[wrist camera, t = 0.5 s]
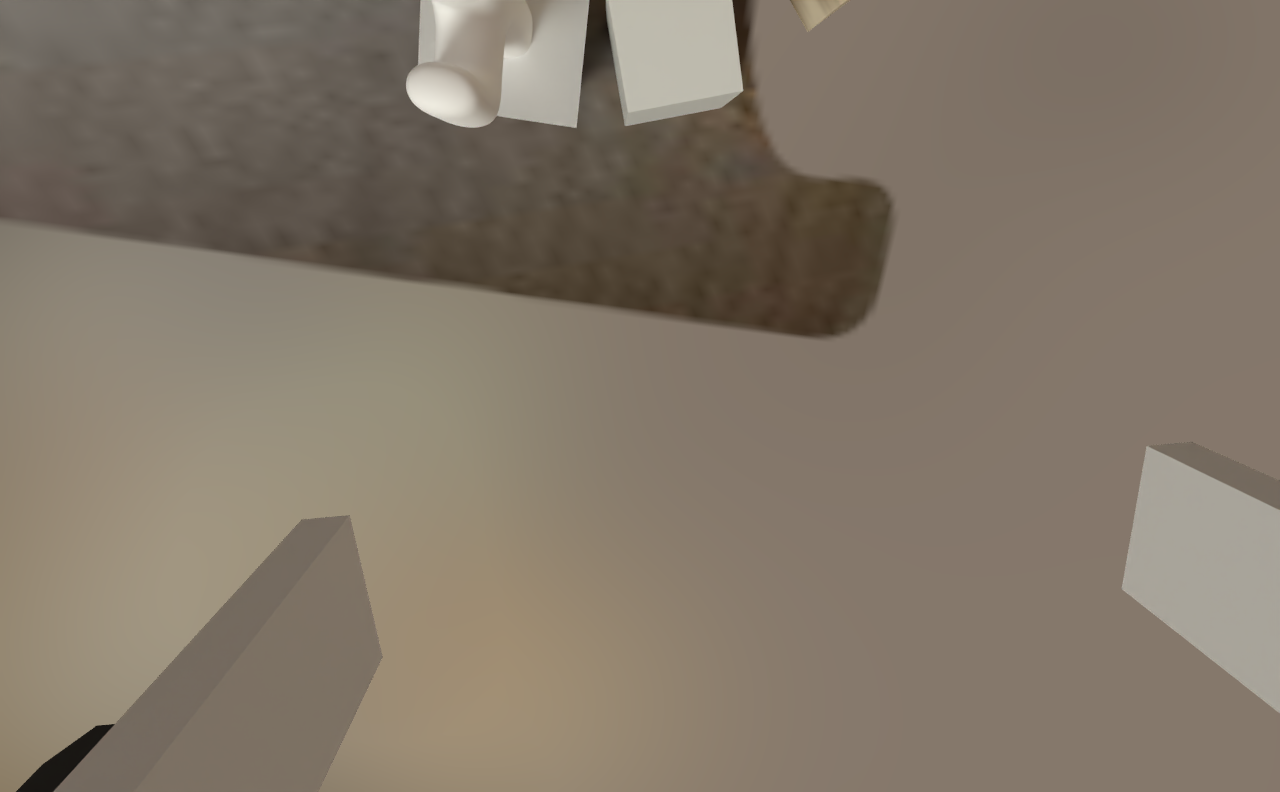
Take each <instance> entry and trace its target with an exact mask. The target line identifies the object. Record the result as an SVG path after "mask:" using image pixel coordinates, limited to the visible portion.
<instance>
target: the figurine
mask: <svg viewBox="0 0 1280 792" xmlns="http://www.w3.org/2000/svg"><path fill="white" fill-rule="evenodd" d="M588 9H589V0H421V2H420V29H419V57H418V65H417V66H416V67H414V68H413V69H412V70H411V71H410V73H409V75H408V77H407V81H406V89H407V93H408V95H409V97H410V99H411V101H412V102H413V103H414V104H415V105H416V106H417V107H418V108H419V109H421V110H422V111H424V112H426V113H428V114H430V115H432V116H434V117H436V118H439V119H441V120H443V121H446V122H448V123H451V124H454V125H457V126H462V127H471V128H473V127H481V126H485V125H487V124H489V123H491V122H492V121H493V120H494V119H495V117H496V116H501V117H508V118H514V119H521V120H528V121H534V122H541V123H548V124H554V125H561V126H568V127H574V128H576V127H577V118H578V108H579V98H580V88H581V78H582V68H583V58H584V49H585V39H586V29H587V19H588Z"/></svg>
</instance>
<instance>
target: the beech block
mask: <svg viewBox="0 0 1280 792" xmlns="http://www.w3.org/2000/svg"><path fill="white" fill-rule="evenodd" d="M790 1H791V3H792V5H793V7H794V9H795V10H796V12H797V14H798V16H799V18H800V19H801V21H802V23H803V25H804V27H805V28H806V30H807V32H809V31H810V30H811V29H813V28H814V27H815V26H816V25H818V24H819V23H821V22H822V21H823V20H825V19H826V18H827V17H829V16H830V15H831V14H833V13H834V12H835V11H837V10H838V9H839V8H841V7H842V6H843V5H845V4H846V3H847V2H849V1H850V0H790Z"/></svg>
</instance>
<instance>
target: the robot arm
mask: <svg viewBox="0 0 1280 792" xmlns="http://www.w3.org/2000/svg"><path fill="white" fill-rule="evenodd" d="M1122 590H1124V591H1125V592H1126V593H1128V594H1129V595H1130V596H1131V597H1133V598H1134V599H1135V600H1136V601H1138V602H1139V603H1140V604H1142V605H1143V606H1144V607H1145V608H1147V609H1148V610H1149V611H1151V612H1152V613H1153V614H1154V615H1156V616H1157V617H1158V618H1159V619H1161V620H1162V621H1163V622H1165V623H1166V624H1167V625H1168V626H1170V627H1171V628H1172V629H1173V630H1175V631H1176V632H1177V633H1178V634H1180V635H1181V636H1182V637H1184V638H1185V639H1186V640H1187V641H1189V642H1190V643H1191V644H1192V645H1194V646H1195V647H1196V648H1197V649H1199V650H1200V651H1201V652H1203V653H1204V654H1205V655H1206V656H1208V657H1209V658H1210V659H1211V660H1213V661H1214V662H1215V663H1217V664H1218V665H1219V666H1220V667H1222V668H1223V669H1224V670H1226V671H1227V672H1228V673H1229V674H1231V675H1232V676H1233V677H1234V678H1236V679H1237V680H1238V681H1240V682H1241V683H1242V684H1243V685H1245V686H1246V687H1247V688H1248V689H1250V690H1251V691H1252V692H1253V693H1255V694H1256V695H1257V696H1259V697H1260V698H1261V699H1262V700H1264V701H1265V702H1266V703H1267V704H1269V705H1270V706H1271V707H1272V708H1274V709H1275V710H1276V711H1278V712H1279V713H1280V480H1277V479H1275V478H1273V477H1270V476H1268V475H1266V474H1264V473H1261V472H1259V471H1257V470H1255V469H1252V468H1250V467H1248V466H1246V465H1243V464H1241V463H1239V462H1236V461H1234V460H1232V459H1230V458H1227V457H1225V456H1223V455H1221V454H1218V453H1216V452H1213V451H1211V450H1209V449H1207V448H1205V447H1202V446H1200V445H1198V444H1196V443H1193V442H1187V443H1175V444H1163V445H1151V446H1147V448H1146V454H1145V459H1144V465H1143V471H1142V476H1141V483H1140V488H1139V494H1138V500H1137V505H1136V511H1135V517H1134V522H1133V528H1132V534H1131V540H1130V545H1129V551H1128V556H1127V562H1126V568H1125V573H1124V579H1123V585H1122ZM381 659H382V653H381V648H380V644H379V640H378V635H377V631H376V627H375V623H374V618H373V614H372V610H371V605H370V601H369V597H368V592H367V588H366V584H365V579H364V575H363V571H362V567H361V562H360V558H359V554H358V549H357V545H356V541H355V536H354V532H353V528H352V524H351V519H350V516H337V517H326V518H315V519H304V520H301V521H300V522H299V523H298V524H297V525H296V526H295V528H294V529H293V530H292V531H291V532H290V533H289V534H288V535H287V536H286V538H284V540H283V541H282V542H281V543H280V544H279V545H278V546H277V547H276V549H274V551H273V552H272V553H271V554H270V555H269V556H268V557H267V558H266V559H265V560H264V561H263V563H262V564H261V565H260V566H259V567H258V568H257V569H256V571H255V572H254V573H253V574H252V575H251V576H250V577H249V578H248V579H247V580H246V581H245V582H244V583H243V585H242V586H241V587H240V588H239V589H238V590H237V591H236V592H235V593H234V594H233V596H232V597H231V598H230V599H229V600H228V601H227V602H226V603H225V604H224V605H223V607H222V608H221V609H220V610H219V611H218V612H217V613H216V614H215V615H214V616H213V617H212V618H211V620H210V621H209V622H208V623H207V624H206V625H205V626H204V627H203V628H202V629H201V631H200V632H199V633H198V634H197V635H196V636H195V637H194V638H193V639H192V640H191V641H190V643H189V644H188V645H187V646H186V647H185V648H184V649H183V650H182V651H181V652H180V654H179V655H178V656H177V657H176V658H175V659H174V660H173V661H172V663H170V664H169V666H168V667H167V668H166V669H165V670H164V671H163V672H162V673H161V674H160V675H159V677H158V678H157V679H156V680H155V681H154V682H153V683H152V684H151V685H150V686H149V687H148V689H147V690H146V691H145V692H144V693H143V694H142V695H141V696H140V697H139V699H138V700H137V701H136V702H135V703H134V704H133V705H132V706H131V707H130V708H129V709H128V710H127V712H126V713H125V714H124V715H123V716H122V717H121V718H120V719H119V720H118V721H117V723H116V724H111V725H101V726H96V727H95V728H93V729H92V730H90V731H89V732H87V733H86V734H85V735H83V736H82V737H81V738H79V739H78V740H76V741H75V742H73V743H72V744H71V745H69V746H68V747H67V748H65V749H64V750H62V751H61V752H60V753H58V754H57V755H55V756H54V757H52V758H51V759H50V760H48V761H47V762H45V763H44V764H43V765H42V766H41V767H40V768H39V769H38V770H37V771H36V772H35V773H34V774H33V775H32V776H31V777H30V778H29V779H28V780H27V781H26V782H25V783H24V784H23V785H22V786H21V787H20V788H19V789H18V790H17V791H16V792H318V791H319V789H320V787H321V785H322V782H323V781H324V778H325V777H326V775H327V772H328V770H329V768H330V766H331V764H332V762H333V760H334V758H335V756H336V754H337V751H338V749H339V747H340V745H341V743H342V741H343V739H344V737H345V735H346V732H347V730H348V728H349V726H350V724H351V722H352V720H353V718H354V716H355V714H356V712H357V709H358V707H359V705H360V703H361V701H362V699H363V697H364V695H365V693H366V691H367V689H368V686H369V684H370V682H371V680H372V678H373V675H374V674H375V672H376V670H377V667H378V665H379V663H380V661H381Z"/></svg>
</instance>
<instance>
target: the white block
mask: <svg viewBox="0 0 1280 792" xmlns="http://www.w3.org/2000/svg"><path fill="white" fill-rule="evenodd" d="M606 19H607V25H608V31H609V37H610V42H611V48H612V54H613V60H614V65H615V71H616V77H617V83H618V88H619V94H620V100H621V106H622V111H623V117H624V123H625V126H628V125H634V124H639V123H644V122H650V121H655V120H660V119H665V118H671V117H676V116H681V115H686V114H692V113H697V112H702V111H707V110H713V109H718V108H722V107H723V106H724V105H725V104H727V103H728V102H729V101H731V100H732V99H733V98H735V97H736V96H737V95H738V94H740V93H741V92H742V91H743V85H742V77H741V69H740V60H739V52H738V44H737V36H736V28H735V19H734V11H733V3H732V0H606Z"/></svg>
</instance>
